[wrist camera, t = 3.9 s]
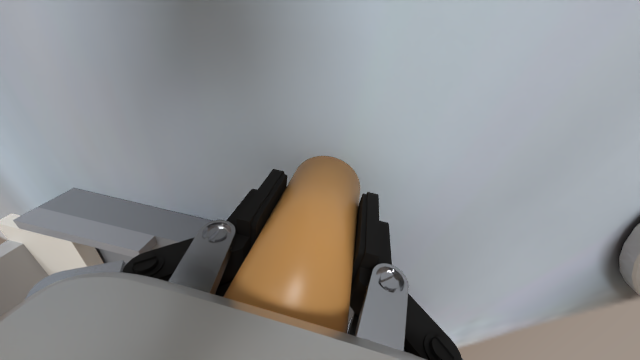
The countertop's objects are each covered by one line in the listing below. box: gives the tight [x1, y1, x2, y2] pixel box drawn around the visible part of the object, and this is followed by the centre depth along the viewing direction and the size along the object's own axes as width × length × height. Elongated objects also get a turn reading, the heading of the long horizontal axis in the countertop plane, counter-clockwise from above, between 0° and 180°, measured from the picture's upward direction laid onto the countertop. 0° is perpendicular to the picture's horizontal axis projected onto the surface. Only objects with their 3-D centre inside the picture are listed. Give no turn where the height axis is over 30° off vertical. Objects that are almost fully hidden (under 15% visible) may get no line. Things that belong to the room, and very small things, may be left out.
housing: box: [13, 188, 354, 324], centre depth 20 cm, size 24×12×4 cm, turn 81°
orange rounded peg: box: [223, 156, 360, 334], centre depth 10 cm, size 4×4×9 cm
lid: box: [0, 214, 104, 316], centre depth 18 cm, size 6×10×5 cm, turn 171°
